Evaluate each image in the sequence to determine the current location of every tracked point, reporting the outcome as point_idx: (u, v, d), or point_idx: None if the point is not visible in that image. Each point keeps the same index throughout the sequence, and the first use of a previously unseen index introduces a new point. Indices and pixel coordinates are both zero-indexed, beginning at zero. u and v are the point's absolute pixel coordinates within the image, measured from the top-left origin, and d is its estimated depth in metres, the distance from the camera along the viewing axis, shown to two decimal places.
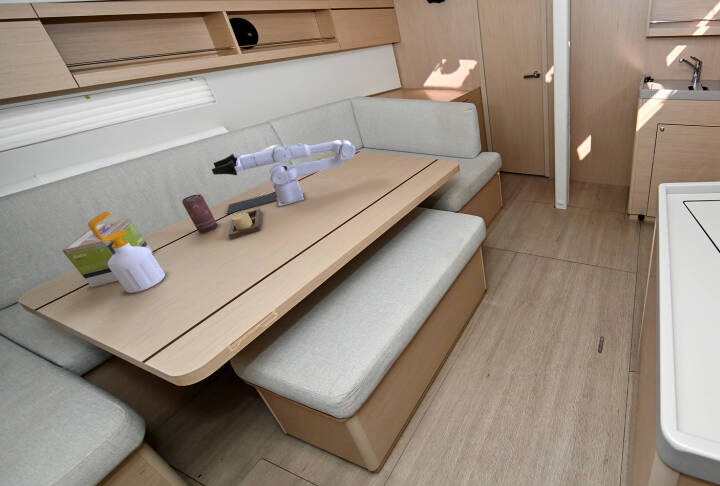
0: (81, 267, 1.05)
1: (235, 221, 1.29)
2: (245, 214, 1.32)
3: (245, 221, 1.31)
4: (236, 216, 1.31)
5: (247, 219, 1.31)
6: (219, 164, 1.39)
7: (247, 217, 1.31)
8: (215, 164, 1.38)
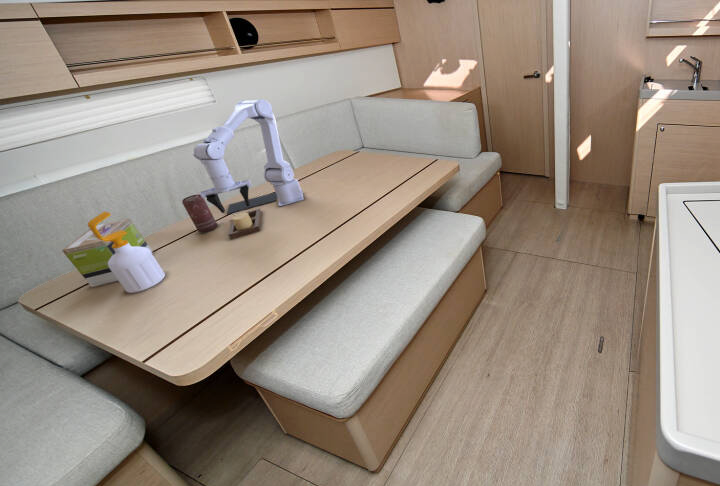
0: (81, 267, 1.05)
1: (235, 221, 1.29)
2: (245, 214, 1.32)
3: (245, 221, 1.31)
4: (236, 216, 1.31)
5: (247, 219, 1.31)
6: (222, 207, 1.27)
7: (247, 217, 1.31)
8: (224, 211, 1.28)
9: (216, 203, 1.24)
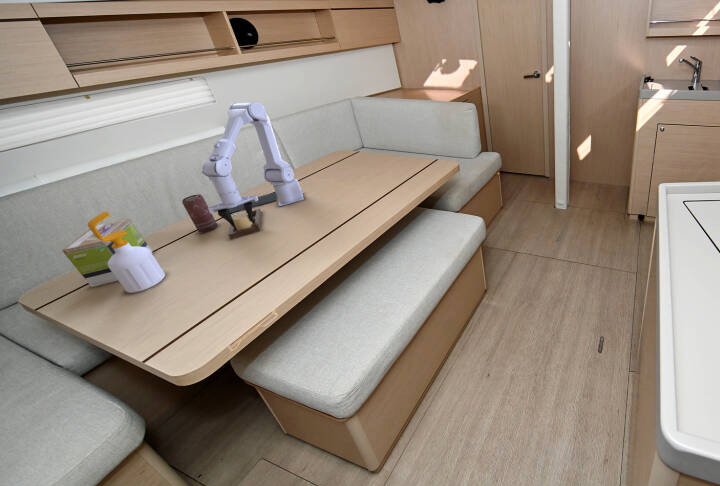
0: (81, 267, 1.05)
1: (235, 221, 1.29)
2: (245, 214, 1.32)
3: (245, 221, 1.31)
4: (236, 216, 1.31)
5: (247, 219, 1.31)
6: None
7: (247, 217, 1.31)
8: None
9: (227, 217, 1.28)
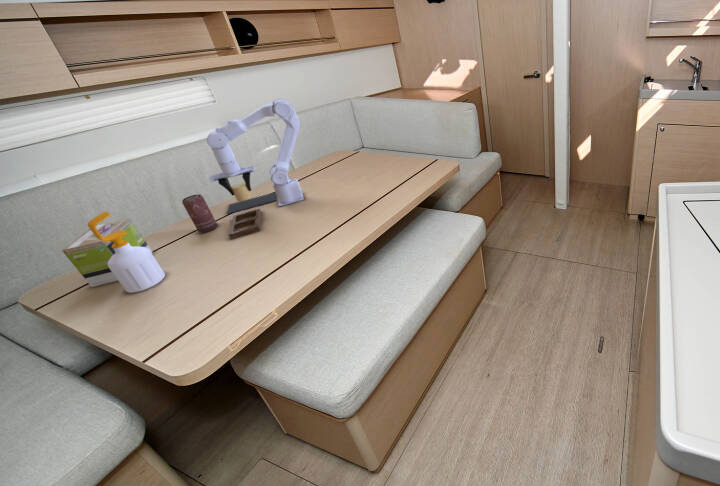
0: (81, 267, 1.05)
1: (234, 190, 1.39)
2: (243, 184, 1.42)
3: (244, 190, 1.41)
4: (235, 185, 1.41)
5: (245, 188, 1.41)
6: None
7: (245, 186, 1.42)
8: (233, 193, 1.41)
9: (227, 186, 1.38)
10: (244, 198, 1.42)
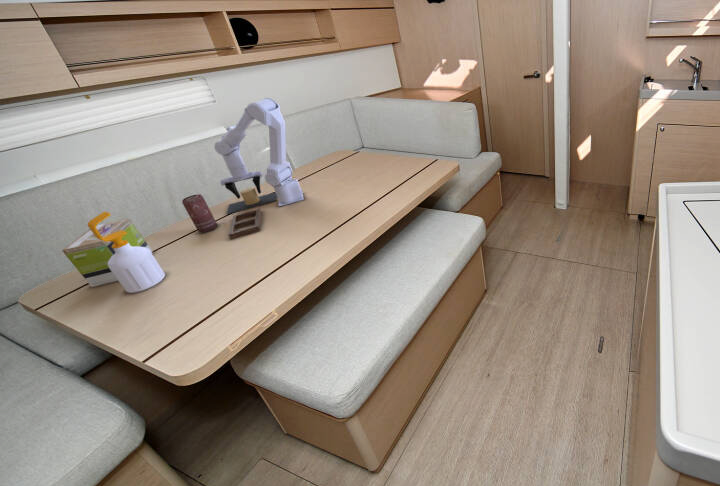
0: (81, 267, 1.05)
1: (243, 194, 1.50)
2: (252, 189, 1.53)
3: (252, 195, 1.51)
4: (244, 190, 1.52)
5: (253, 192, 1.52)
6: (238, 194, 1.51)
7: (253, 191, 1.52)
8: (239, 196, 1.51)
9: (233, 190, 1.48)
10: (252, 202, 1.52)
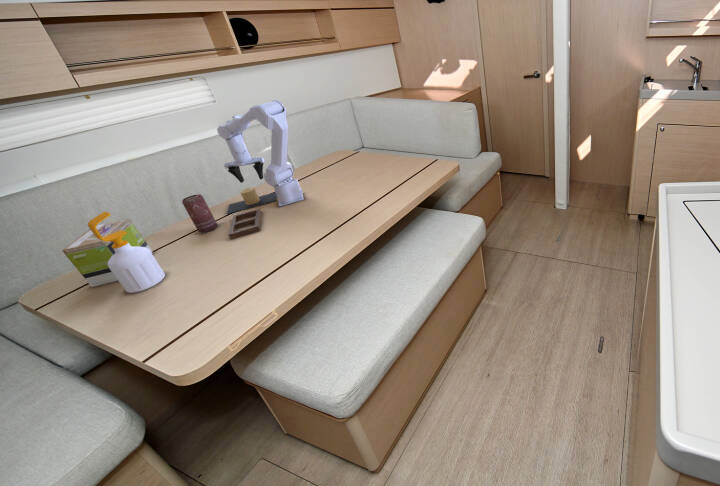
0: (81, 267, 1.05)
1: (243, 194, 1.50)
2: (252, 189, 1.53)
3: (252, 195, 1.51)
4: (244, 190, 1.52)
5: (253, 192, 1.52)
6: (241, 178, 1.52)
7: (253, 191, 1.52)
8: (242, 181, 1.52)
9: (235, 174, 1.49)
10: (252, 202, 1.52)
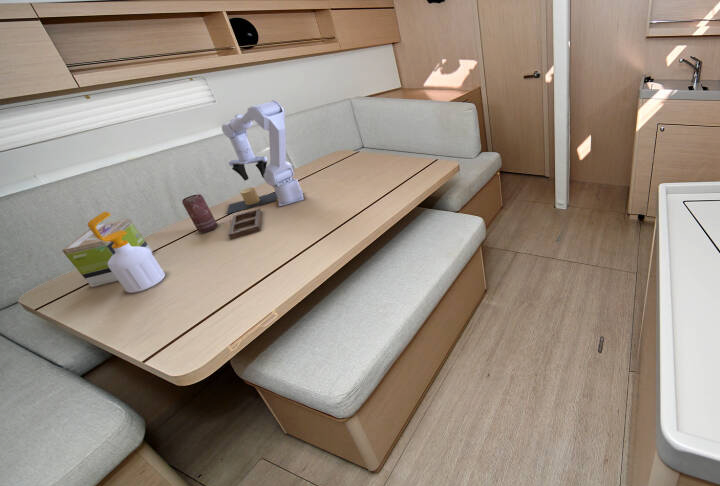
0: (81, 267, 1.05)
1: (243, 194, 1.50)
2: (252, 189, 1.53)
3: (252, 195, 1.51)
4: (244, 190, 1.52)
5: (253, 192, 1.52)
6: (245, 176, 1.54)
7: (253, 191, 1.52)
8: (246, 178, 1.54)
9: (239, 172, 1.51)
10: (252, 202, 1.52)
